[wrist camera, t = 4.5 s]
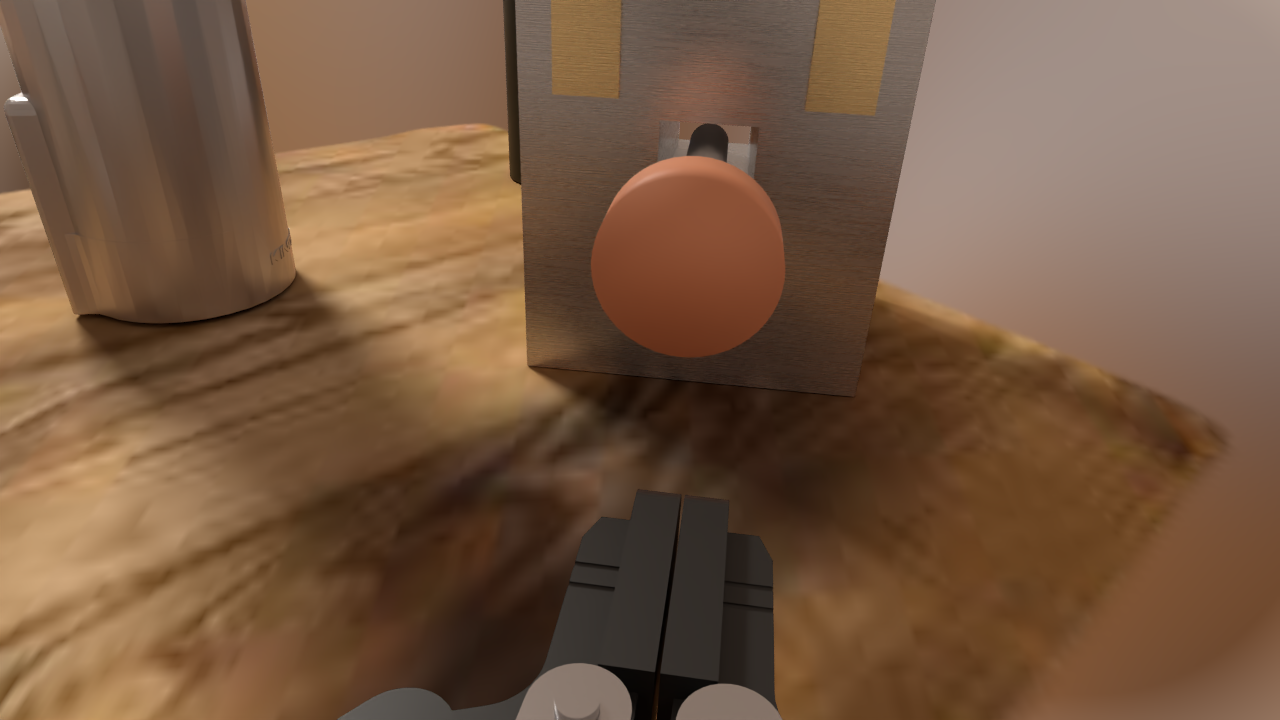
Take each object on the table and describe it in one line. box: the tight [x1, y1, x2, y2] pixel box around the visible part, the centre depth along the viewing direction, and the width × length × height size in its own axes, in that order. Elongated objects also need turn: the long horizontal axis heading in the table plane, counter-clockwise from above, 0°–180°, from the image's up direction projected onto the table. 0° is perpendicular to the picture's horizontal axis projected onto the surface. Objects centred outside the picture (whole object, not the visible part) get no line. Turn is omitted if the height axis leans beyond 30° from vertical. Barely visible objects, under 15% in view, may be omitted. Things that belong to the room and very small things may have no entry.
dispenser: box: [515, 0, 936, 397], centre depth 33 cm, size 13×15×26 cm
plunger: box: [591, 124, 785, 357], centre depth 27 cm, size 14×5×5 cm, turn 173°
